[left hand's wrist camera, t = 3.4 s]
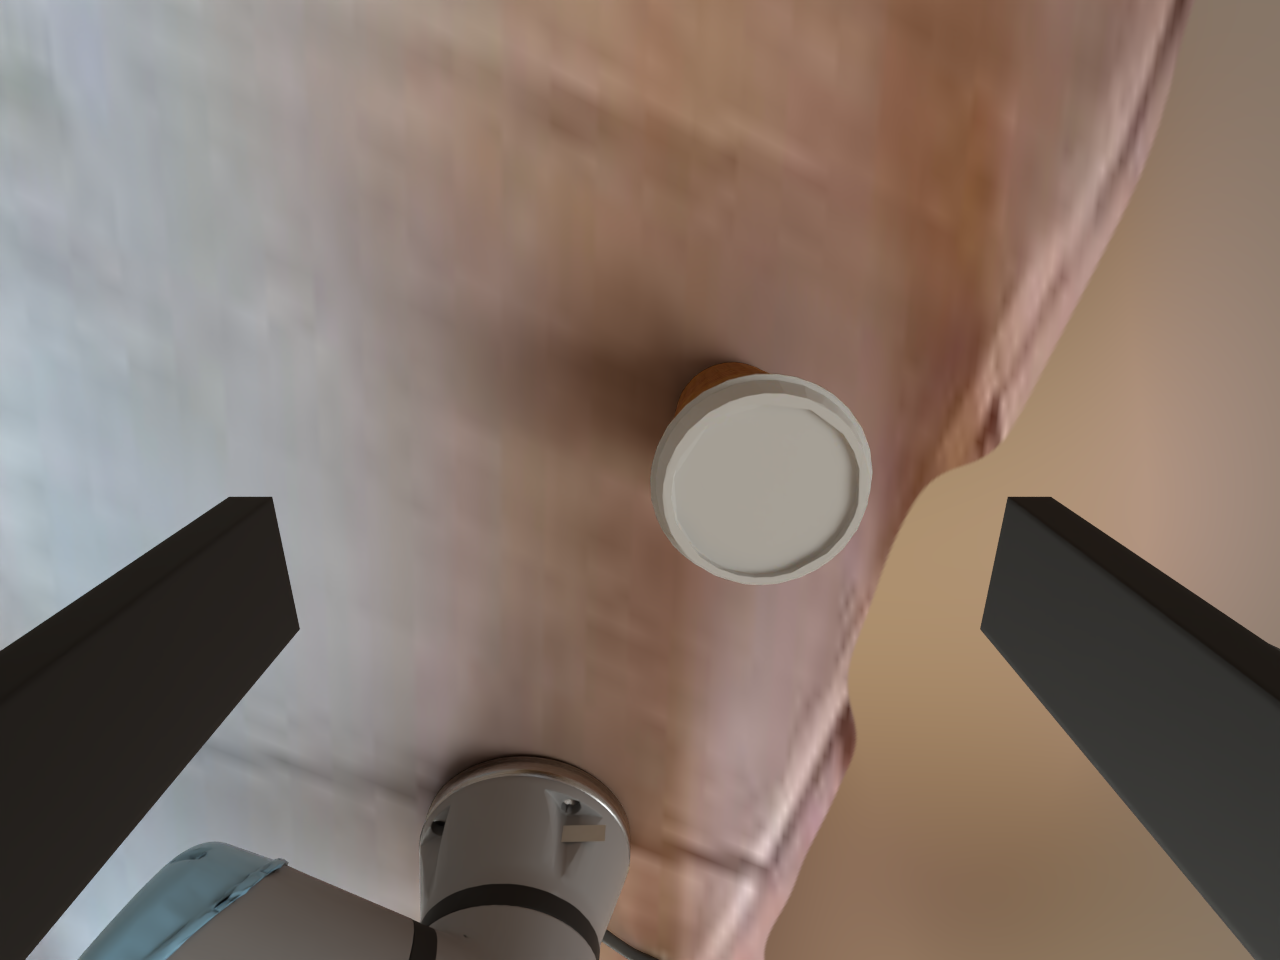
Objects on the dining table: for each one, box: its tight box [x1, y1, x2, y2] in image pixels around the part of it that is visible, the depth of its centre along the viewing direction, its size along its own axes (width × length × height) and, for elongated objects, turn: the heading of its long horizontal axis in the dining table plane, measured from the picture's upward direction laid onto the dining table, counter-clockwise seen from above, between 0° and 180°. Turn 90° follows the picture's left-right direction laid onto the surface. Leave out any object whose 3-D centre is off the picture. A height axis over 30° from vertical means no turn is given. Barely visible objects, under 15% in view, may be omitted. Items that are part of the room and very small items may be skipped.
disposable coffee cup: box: [650, 362, 872, 585], centre depth 34 cm, size 10×10×12 cm
